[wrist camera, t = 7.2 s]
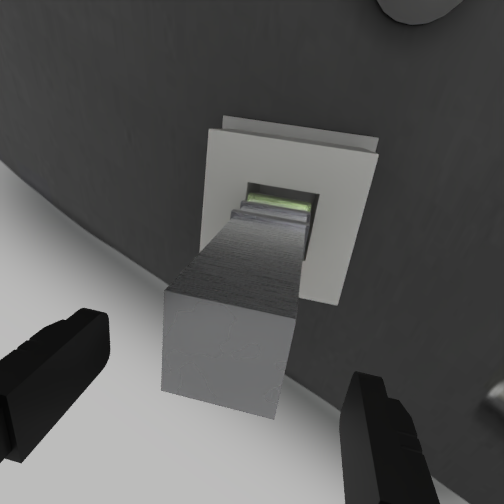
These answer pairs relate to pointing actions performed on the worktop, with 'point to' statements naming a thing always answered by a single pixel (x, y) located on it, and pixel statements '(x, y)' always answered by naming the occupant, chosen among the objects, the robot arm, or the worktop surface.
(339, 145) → the stand base
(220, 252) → the column
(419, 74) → the worktop surface
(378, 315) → the worktop surface
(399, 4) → the can
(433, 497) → the robot arm
